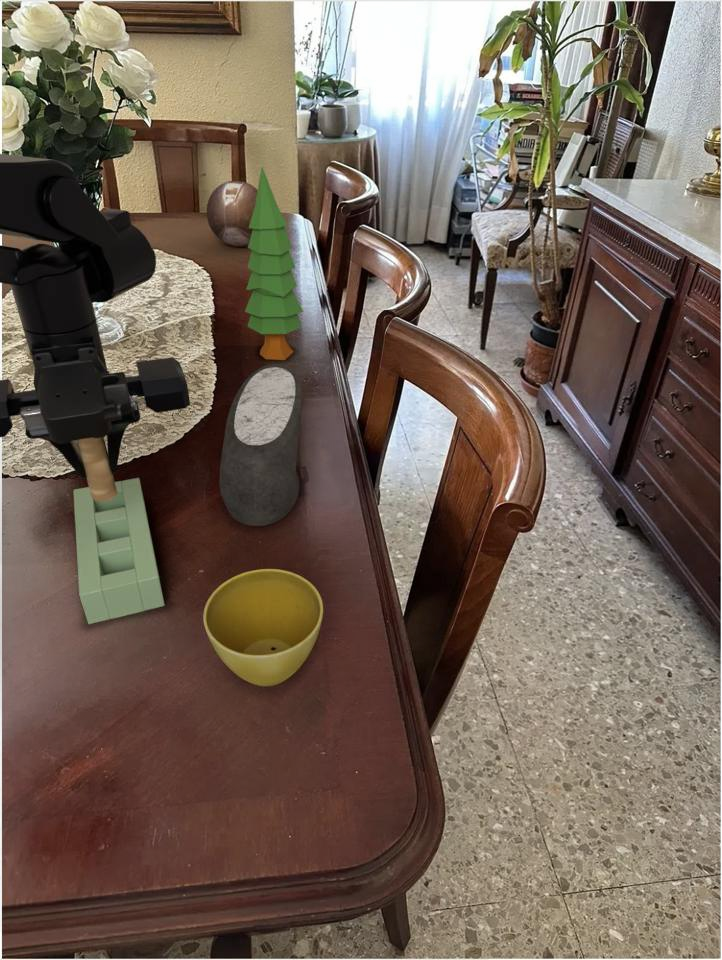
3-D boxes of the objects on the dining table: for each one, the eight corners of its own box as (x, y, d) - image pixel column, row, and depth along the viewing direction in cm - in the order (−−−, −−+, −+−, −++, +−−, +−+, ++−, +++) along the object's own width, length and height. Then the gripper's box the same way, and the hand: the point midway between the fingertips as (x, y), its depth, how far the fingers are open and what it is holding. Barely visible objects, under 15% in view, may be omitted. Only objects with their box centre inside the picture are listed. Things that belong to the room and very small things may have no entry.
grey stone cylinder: (293, 531, 76) (290, 463, 70) (217, 529, 76) (208, 461, 70) (310, 421, 96) (309, 361, 91) (250, 419, 96) (245, 360, 91)
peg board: (88, 624, 64) (79, 595, 61) (81, 517, 77) (73, 489, 75) (164, 606, 66) (158, 577, 64) (144, 504, 79) (139, 477, 77)
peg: (92, 504, 64) (70, 424, 59) (91, 490, 66) (69, 411, 61) (118, 499, 65) (98, 420, 60) (116, 485, 67) (97, 407, 62)
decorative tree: (246, 363, 111) (230, 169, 94) (250, 340, 119) (236, 157, 101) (304, 363, 112) (298, 170, 94) (304, 340, 119) (299, 158, 102)
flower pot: (335, 698, 58) (335, 642, 53) (217, 723, 55) (208, 667, 51) (311, 614, 65) (309, 560, 61) (207, 633, 63) (199, 579, 59)
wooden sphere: (209, 255, 159) (202, 188, 150) (210, 237, 171) (203, 175, 162) (272, 253, 161) (268, 187, 153) (268, 236, 173) (265, 174, 165)
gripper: (-82, 379, 46) (-13, 547, 55) (188, 345, 52) (210, 502, 61) (-62, 320, 55) (-5, 474, 64) (168, 296, 60) (190, 441, 69)
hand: (98, 473), depth 64 cm, fingers closed on peg, 2 cm apart
